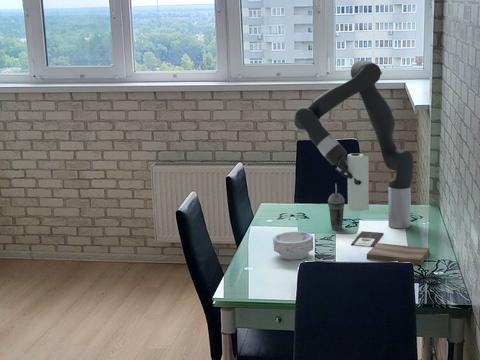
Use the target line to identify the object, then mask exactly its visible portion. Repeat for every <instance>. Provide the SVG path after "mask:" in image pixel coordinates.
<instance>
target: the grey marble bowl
mask: <svg viewBox="0 0 480 360" xmlns="http://www.w3.org/2000/svg"><path fill="white" fill-rule="evenodd" d="M272 242H273V243H272V244H273V250H274V251H273V252H275V253H277V254H279V256H280V258H282V259H284V260H291V261H296V260H301V259H305V258H306V257H307V256H308V254H309V253H310V252H311V251H313V250H314V237H313V234H311V233H309V232H306V231H285V232H281V233H278V234H276V235H274V236H273V238H272Z"/></svg>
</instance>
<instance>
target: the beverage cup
mask: <svg viewBox="0 0 480 360" xmlns="http://www.w3.org/2000/svg"><path fill="white" fill-rule="evenodd" d="M337 184H338V183H335V185H334V186H335V192H334V193H333V192H332V194H330V195H329V197H328V200H327V205H328V209H329V210H328V212H329V218H330V226H331V230H333V231H339V230H342V229H343V225H344V224H343V223H344V209H345V205H346V204H345V203H346V202H345V198H344V196H343V195H342V194H341V193H340V192H338V185H337Z"/></svg>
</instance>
